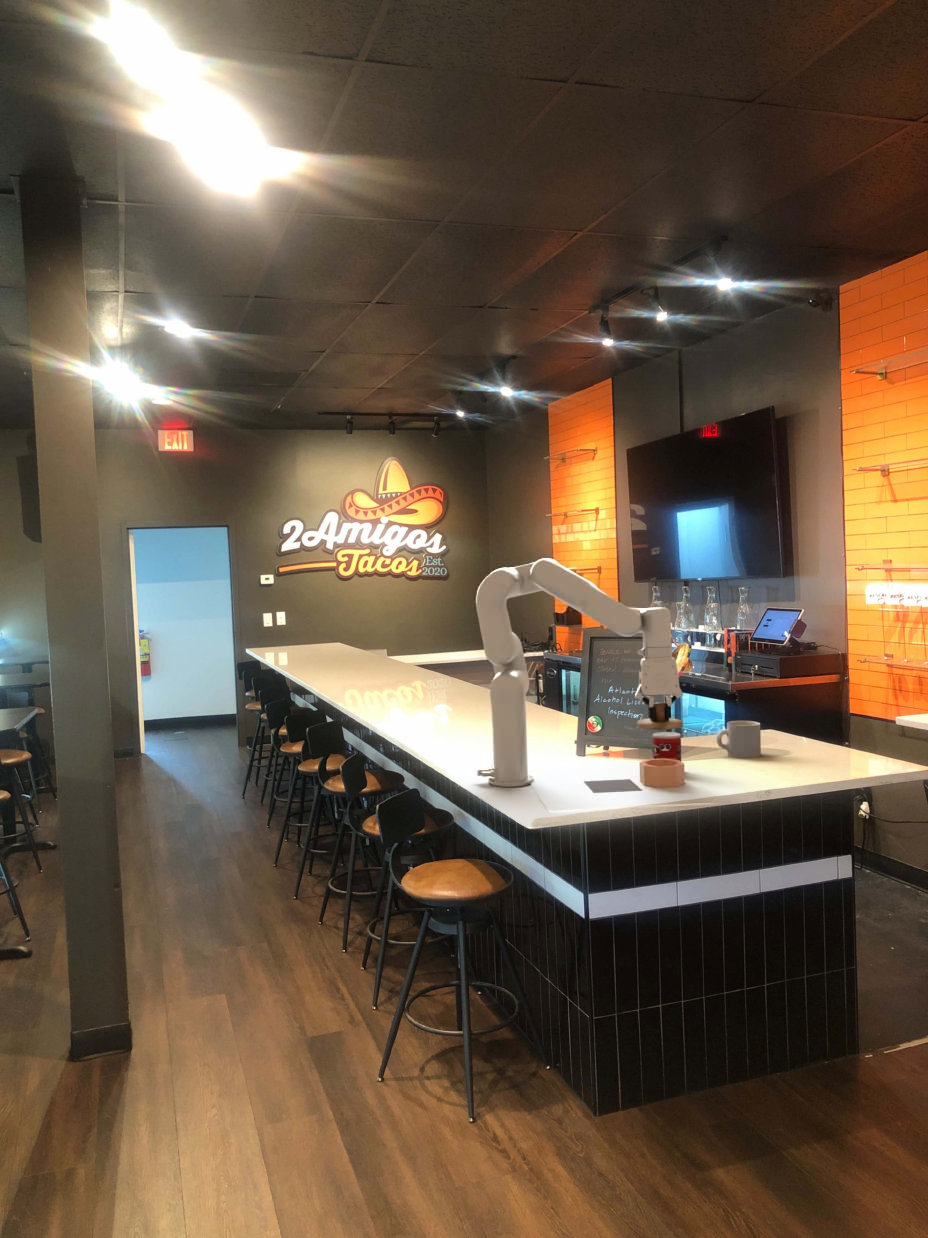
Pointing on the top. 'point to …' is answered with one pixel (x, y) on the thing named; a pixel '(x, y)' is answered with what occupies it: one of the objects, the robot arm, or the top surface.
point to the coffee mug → (741, 739)
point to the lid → (659, 720)
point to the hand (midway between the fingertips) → (659, 720)
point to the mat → (612, 786)
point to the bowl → (662, 773)
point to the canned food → (667, 745)
